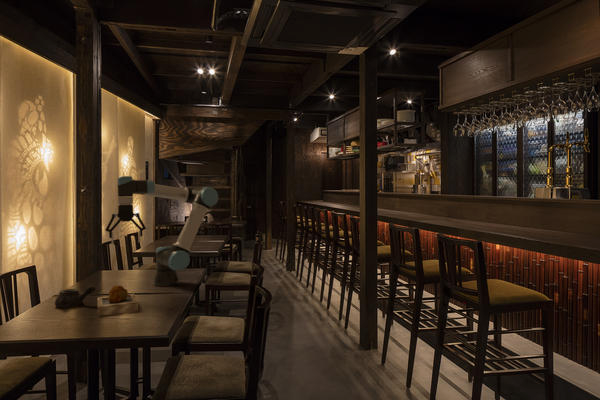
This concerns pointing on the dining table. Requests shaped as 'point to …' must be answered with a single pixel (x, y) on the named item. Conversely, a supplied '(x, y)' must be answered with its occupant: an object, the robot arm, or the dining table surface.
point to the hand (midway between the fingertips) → (126, 243)
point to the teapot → (72, 297)
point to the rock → (117, 294)
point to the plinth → (117, 305)
